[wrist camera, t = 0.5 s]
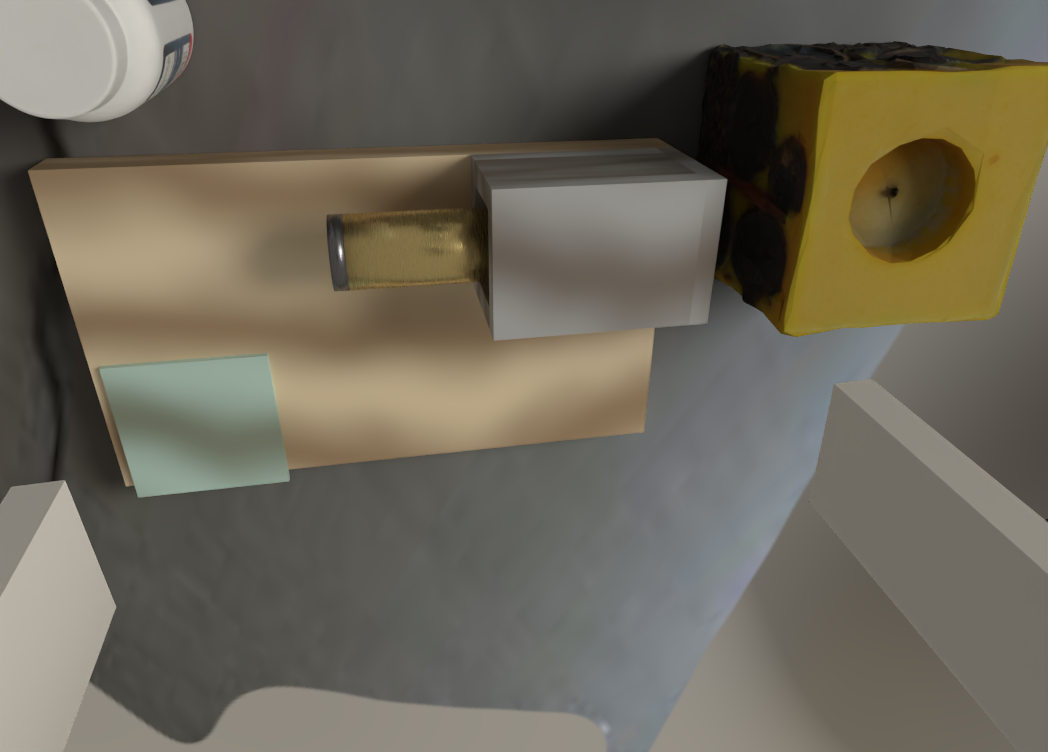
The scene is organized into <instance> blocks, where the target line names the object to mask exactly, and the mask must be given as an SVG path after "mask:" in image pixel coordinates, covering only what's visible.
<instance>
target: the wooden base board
mask: <svg viewBox="0 0 1048 752" xmlns="http://www.w3.org/2000/svg"><path fill="white" fill-rule="evenodd" d="M28 173H29V176H30V180H31V183H32V186H33V189H34V193H35V196H36V199H37V202H38V205H39V209H40V212H41V215H42V218H43V221H44V225H45V228H46V231H47V234H48V237H49V241H50V244H51V247H52V250H53V254H54V257H55V260H56V263H57V266H58V270H59V273H60V276H61V279H62V282H63V286H64V289H65V292H66V295H67V299H68V302H69V305H70V308H71V311H72V315H73V318H74V321H75V324H76V327H77V331H78V334H79V337H80V340H81V343H82V347H83V350H84V353H85V356H86V360H87V363H88V366H89V369H90V372H91V376H92V379H93V382H94V385H95V388H96V392H97V395H98V398H99V401H100V404H101V408H102V411H103V414H104V417H105V421H106V424H107V427H108V430H109V433H110V437H111V440H112V443H113V446H114V449H115V453H116V456H117V459H118V462H119V466H120V469H121V472H122V475H123V478H124V482H125V485H126V486H135V489H136V492H137V495H138V497H148V496H157V495H166V494H175V493H185V492H194V491H203V490H212V489H222V488H231V487H240V486H249V485H259V484H268V483H277V482H286V481H290V475H289V470H288V469H297V468H307V467H316V466H326V465H335V464H345V463H354V462H364V461H373V460H383V459H392V458H402V457H411V456H421V455H430V454H440V453H449V452H459V451H468V450H478V449H487V448H497V447H506V446H516V445H525V444H535V443H544V442H554V441H563V440H573V439H582V438H592V437H601V436H611V435H620V434H630V433H639V432H644V426H645V416H646V407H647V397H648V387H649V377H650V368H651V358H652V348H653V339H654V329H655V328H659V327H671V326H684V325H696V324H707V322H708V315H709V308H710V300H711V293H712V286H713V279H714V272H715V265H716V258H717V251H718V243H719V236H720V229H721V222H722V215H723V208H724V201H725V193H726V186H727V179H726V178H725V177H723V176H721V175H719V174H718V173H716V172H714V171H713V170H711V169H709V168H708V167H706V166H704V165H702V164H701V163H699V162H697V161H696V160H694V159H692V158H690V157H689V156H687V155H685V154H684V153H682V152H680V151H679V150H677V149H675V148H673V147H672V146H670V145H668V144H667V143H665V142H663V141H661V140H660V139H658V138H646V139H616V140H586V141H556V142H526V143H496V144H466V145H436V146H407V147H377V148H347V149H317V150H287V151H257V152H227V153H197V154H167V155H137V156H107V157H77V158H47V159H45V160H43V161H42V162H40V163H38V164H37V165H35V166H34V167H32V168H31V169H29V170H28ZM472 207H487V208H488V244H489V281H488V282H473V283H458V284H443V285H428V286H412V287H397V288H382V289H367V290H352V291H337V292H335V291H334V288H333V284H332V277H331V270H330V262H329V253H328V242H327V226H326V217H327V214H348V213H369V212H389V211H410V210H431V209H452V208H472Z"/></svg>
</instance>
